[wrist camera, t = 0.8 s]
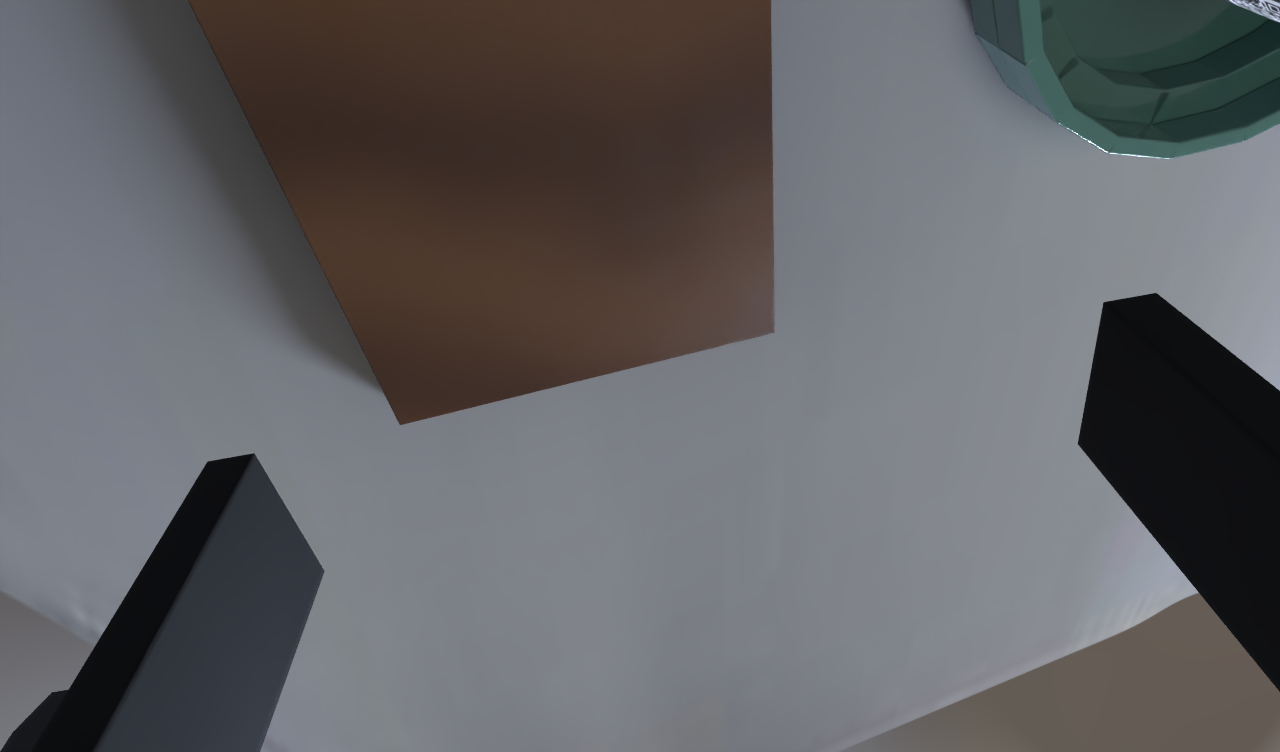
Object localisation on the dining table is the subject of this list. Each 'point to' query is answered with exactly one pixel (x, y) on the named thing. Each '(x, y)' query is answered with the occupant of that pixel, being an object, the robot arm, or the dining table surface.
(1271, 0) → the soda can
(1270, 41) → the bowl
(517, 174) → the board
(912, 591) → the dining table surface
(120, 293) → the dining table surface
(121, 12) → the dining table surface
